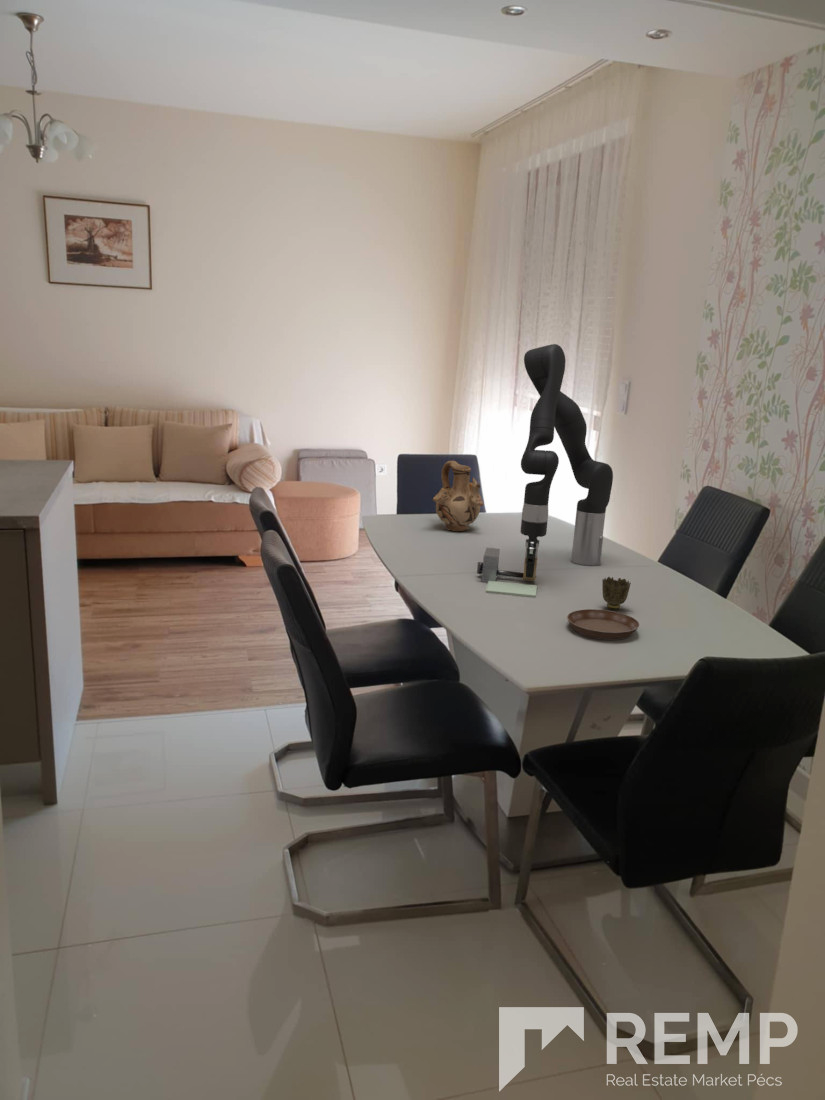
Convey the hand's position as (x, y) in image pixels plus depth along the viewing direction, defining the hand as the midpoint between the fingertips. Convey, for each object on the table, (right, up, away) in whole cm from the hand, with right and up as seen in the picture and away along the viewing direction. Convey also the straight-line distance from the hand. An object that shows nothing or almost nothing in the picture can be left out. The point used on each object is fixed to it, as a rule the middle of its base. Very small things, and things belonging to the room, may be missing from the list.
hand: (529, 575), depth 248 cm
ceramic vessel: (-18, +15, +62) cm, 66 cm away
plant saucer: (+13, -13, -38) cm, 42 cm away
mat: (-6, -4, -9) cm, 11 cm away
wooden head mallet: (-7, 0, +1) cm, 7 cm away
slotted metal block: (-12, -1, +2) cm, 12 cm away
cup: (+20, -9, -20) cm, 30 cm away
